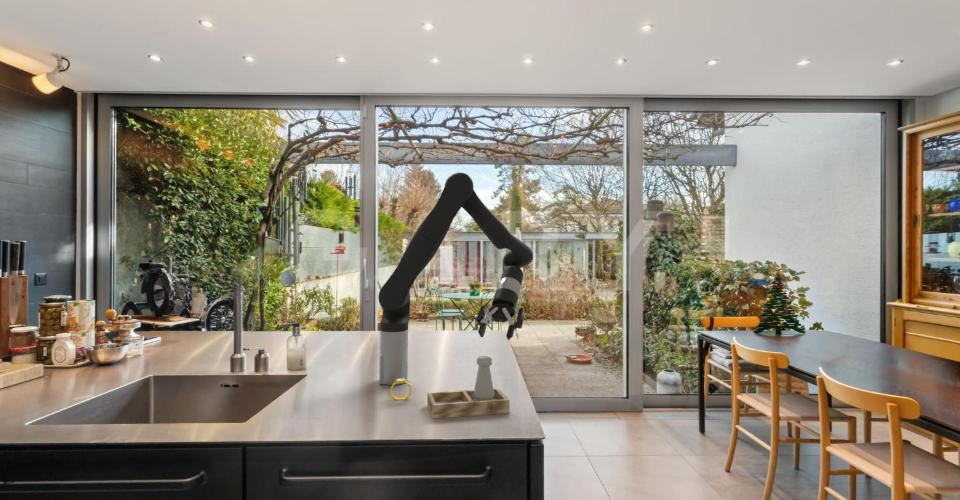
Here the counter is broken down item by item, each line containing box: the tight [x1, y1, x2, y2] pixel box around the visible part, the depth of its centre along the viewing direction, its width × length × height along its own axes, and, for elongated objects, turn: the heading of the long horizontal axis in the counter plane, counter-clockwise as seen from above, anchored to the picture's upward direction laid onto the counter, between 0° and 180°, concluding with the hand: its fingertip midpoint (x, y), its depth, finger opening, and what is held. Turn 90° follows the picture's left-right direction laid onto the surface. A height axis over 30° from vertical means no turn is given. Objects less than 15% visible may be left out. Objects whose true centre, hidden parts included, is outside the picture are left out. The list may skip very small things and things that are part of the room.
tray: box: [426, 387, 510, 419], centre depth 131 cm, size 21×11×4 cm, turn 104°
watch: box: [390, 378, 412, 401], centre depth 138 cm, size 6×3×6 cm, turn 97°
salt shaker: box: [473, 355, 495, 401], centre depth 133 cm, size 6×6×13 cm
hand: (494, 336), depth 139 cm, fingers open, 8 cm apart
